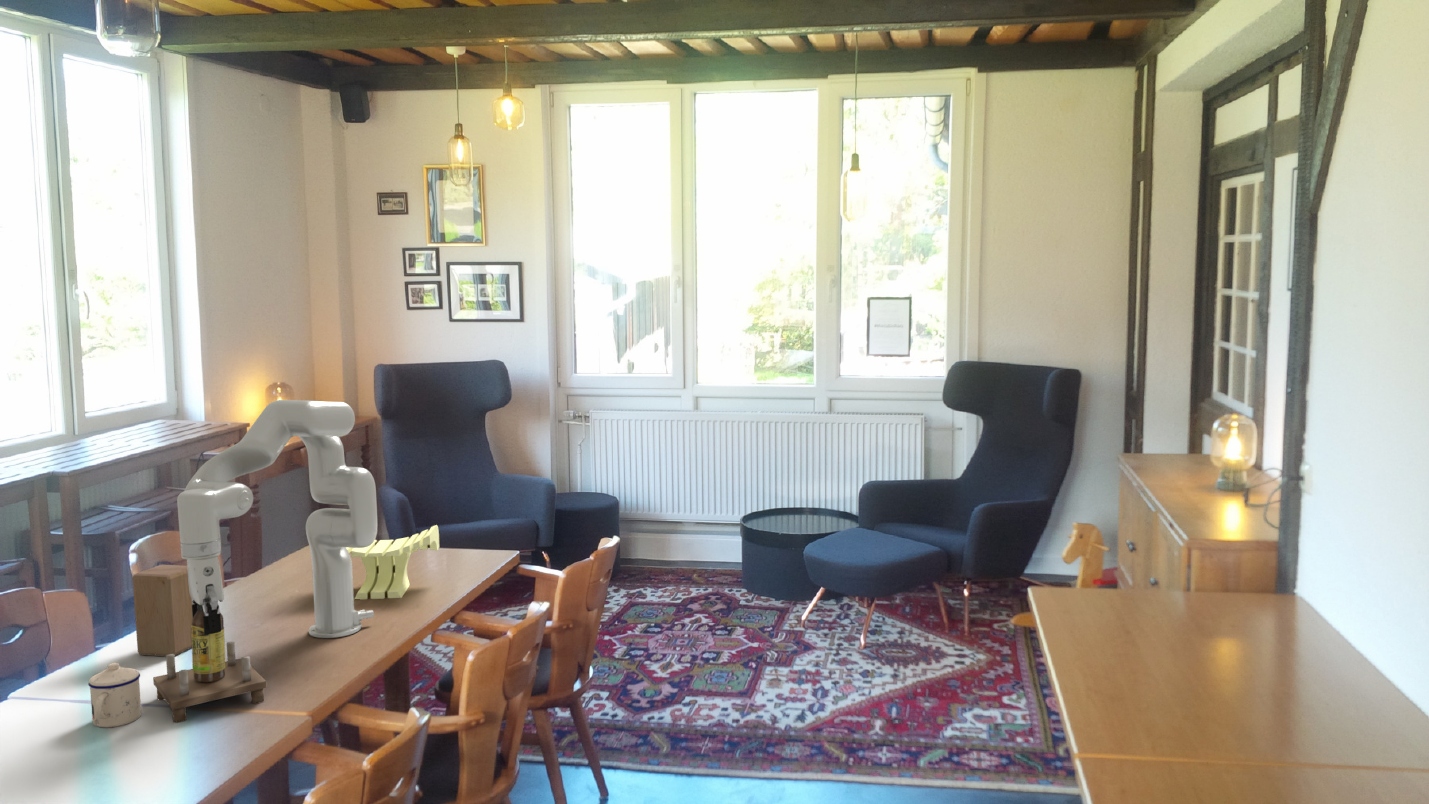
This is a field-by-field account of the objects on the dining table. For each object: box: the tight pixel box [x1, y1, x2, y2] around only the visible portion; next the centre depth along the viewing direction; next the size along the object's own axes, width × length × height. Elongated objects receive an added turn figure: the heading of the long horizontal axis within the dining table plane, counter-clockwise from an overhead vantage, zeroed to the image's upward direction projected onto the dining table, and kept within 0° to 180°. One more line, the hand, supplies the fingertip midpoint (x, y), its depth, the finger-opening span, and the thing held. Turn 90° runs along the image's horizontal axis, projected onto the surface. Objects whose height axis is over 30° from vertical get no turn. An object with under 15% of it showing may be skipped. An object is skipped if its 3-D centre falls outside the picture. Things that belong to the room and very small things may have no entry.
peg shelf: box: [152, 641, 267, 723], centre depth 220 cm, size 18×18×10 cm
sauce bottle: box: [191, 592, 226, 682], centre depth 219 cm, size 6×6×20 cm
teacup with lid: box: [87, 662, 142, 728], centre depth 209 cm, size 12×9×12 cm
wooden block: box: [132, 564, 193, 657], centre depth 250 cm, size 10×10×20 cm
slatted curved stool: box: [346, 524, 440, 601], centre depth 299 cm, size 30×16×18 cm, turn 96°
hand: (207, 627), depth 219 cm, fingers open, 9 cm apart
